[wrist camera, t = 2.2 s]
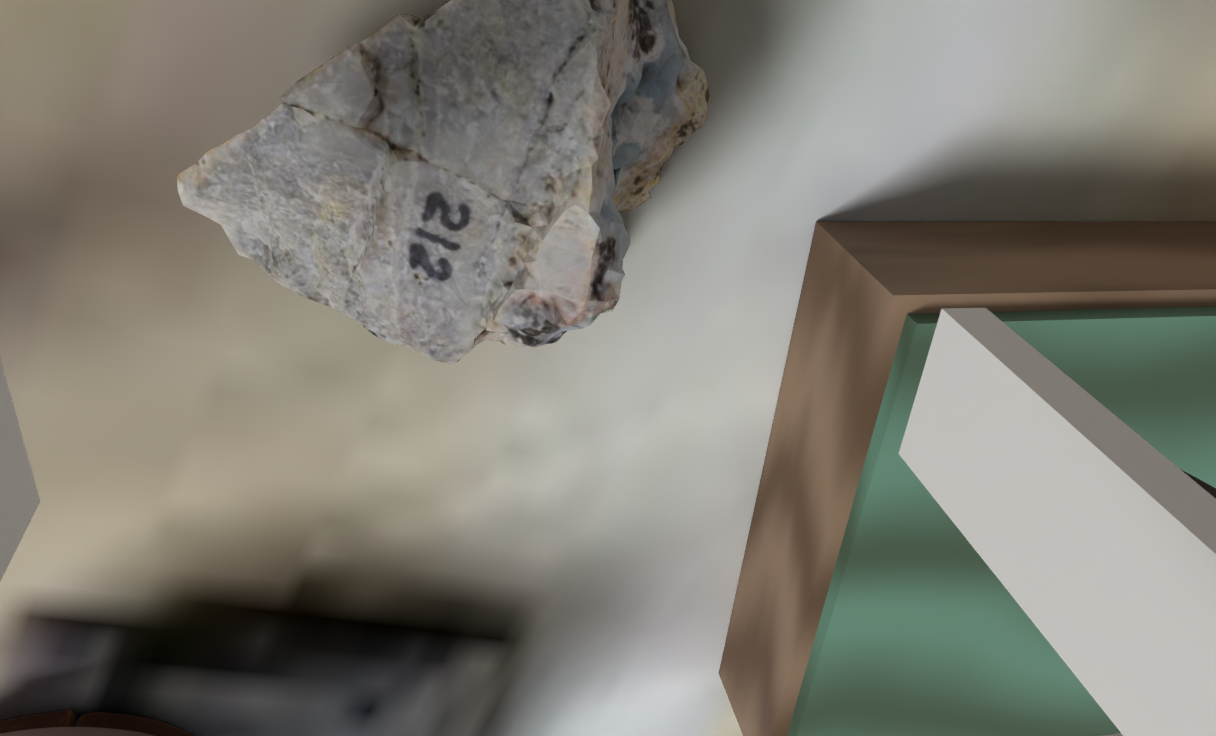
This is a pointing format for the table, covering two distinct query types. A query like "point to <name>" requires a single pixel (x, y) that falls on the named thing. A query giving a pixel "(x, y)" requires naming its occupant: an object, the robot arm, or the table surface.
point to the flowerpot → (87, 725)
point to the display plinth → (901, 505)
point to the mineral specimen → (463, 169)
